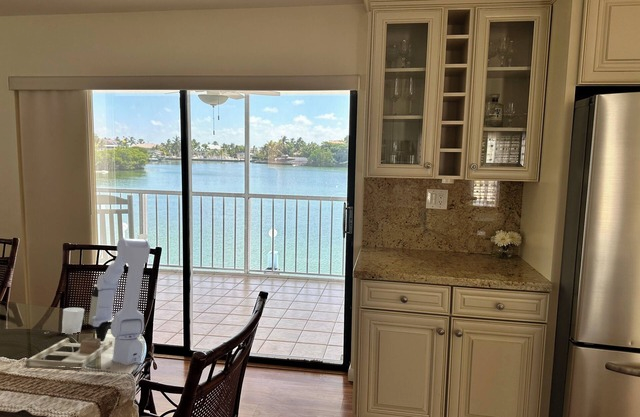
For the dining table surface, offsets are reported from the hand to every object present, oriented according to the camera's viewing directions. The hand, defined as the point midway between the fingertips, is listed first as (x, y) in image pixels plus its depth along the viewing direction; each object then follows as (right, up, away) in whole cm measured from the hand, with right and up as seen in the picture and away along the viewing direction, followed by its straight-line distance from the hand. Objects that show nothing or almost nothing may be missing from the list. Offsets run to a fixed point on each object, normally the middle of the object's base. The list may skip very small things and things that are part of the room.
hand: (100, 341), depth 169 cm
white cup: (-19, -1, +13) cm, 24 cm away
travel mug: (-17, -2, +32) cm, 36 cm away
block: (+1, -1, -10) cm, 10 cm away
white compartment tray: (-2, -1, -16) cm, 16 cm away
